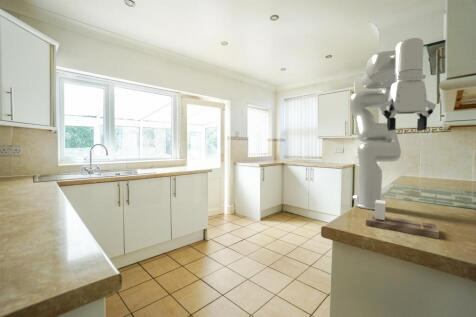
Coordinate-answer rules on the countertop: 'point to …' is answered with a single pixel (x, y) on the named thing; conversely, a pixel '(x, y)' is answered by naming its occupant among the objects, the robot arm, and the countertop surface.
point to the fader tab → (380, 209)
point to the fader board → (404, 226)
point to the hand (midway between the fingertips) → (406, 130)
